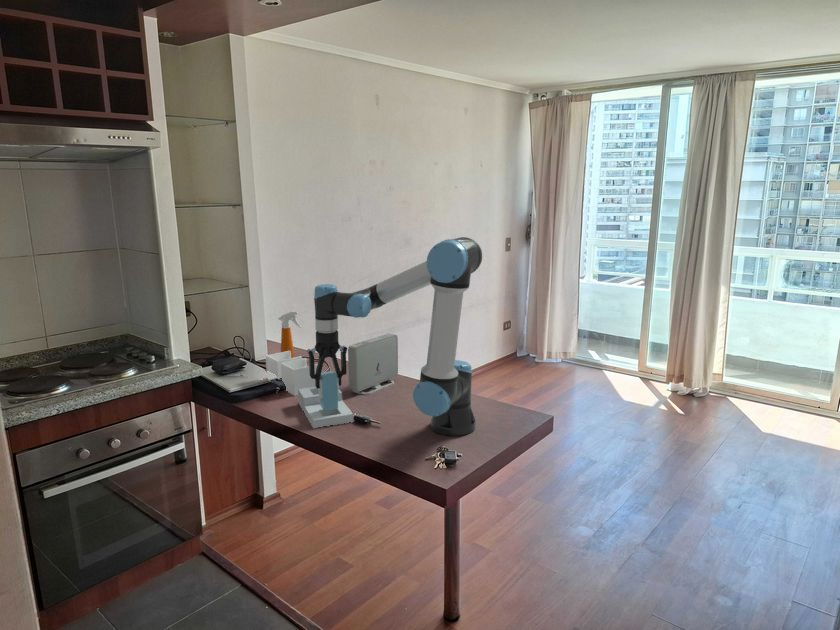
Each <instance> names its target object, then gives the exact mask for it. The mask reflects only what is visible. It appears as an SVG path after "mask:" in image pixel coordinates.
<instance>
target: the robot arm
mask: <svg viewBox="0 0 840 630" xmlns="http://www.w3.org/2000/svg"><path fill="white" fill-rule="evenodd" d="M482 261H483V251H482V248H481V246H480V245H479V244H478V242H477V241H476V240H474V239H472V238H470V237H466V236H463V237H457V238H451V239H444V240H442V241H441V240H440V242H438V243H436V244H434V245H433V247H432V248H431V249H430V250H429V251H428V254H427V257H426V261H423V262H421V263H419V264H417V265H415V266H413V267H410V268H409V269H406V270H403V271H402V272H400V273H398V274H396V275H393V276H391V277H389V278H387V279H385V280H383V281H381V282H378V283H376V284H373V285H372V286H369V287H367V288H365V289H360V290H358V291H357V290H356V291H354V292H340V291H338V286H337V285H336V284H329V283H325V284H318V285H316V286H315V287H314V297H313V300H314V301H313V303H314V313H315V314H314V315H315V316H314V320H315V322H314V323H315V326H314V327H315V330H316V331H315V345H314V347H313V348H311V349H310V348H308V349H307V350H306V351H307V355H308V360H309V361H308V366H309V373H310V377H311V378H312V379H315V386H316V388H317V389H319V397H320V398H323V393H322V379H321V378H320V376H321V373H322V372H323V367H324V362H325V360H326V359H327V358H331V360H332V364H333V368H334V372H335V373H336V375H337V386H338V396H339V390H340V386H342V377H343V376H345V375H347V353H348V347H347V346H346V345H340V343H339V331H338V329H339V318H338V317H339V316H343V317H344V316H345V317H351V318H352V317H353V318H356V319H357V318H367V317H368V316H369V314H370V313H371V311H372V310H376V309H378V308H381V307H383V306H385V305H386V304H389V303H391V302H394V301H395V300H398V299H400V298H403V297H405V296H406V295H409V294H412V293H414V292H416V291H419V290H421V289H424V288H426V287H428V286H430V285H431V287H432V288H433V289H434V290H433V291H434V293H433V303H432V311H431V320H430V330H429V339H428V346H427V357H426V364H424V365H423V366H422V367H421V368H420V369H421V370H420V377H419V382H418V383H417V384H416V385H415V387H414V389H413V392H412V399H413V402H414V405H415V406H416V407H417V409H418V410H419V412H421V413H422V414H424V415H426V416H429V417H431V419H430V428H431V430H432V431H434V432H435V433H438V434H441V435H445V436H452V437H455V436H465V435H468V434H471V433H473V432H474V431H475V430H476V426H477V425H476V418H475V415H474V412H473V409H472V377H473V376H472V375H473V372H472V365H471V364H470V363H469V362H468V361H464V360H459V359H456V356H457V348H458V347H457V346H458V339H459V333H460V331H459V330H460V323H461V313H462V305H463V299H464V293H465V291H468V289H470V285H471V284H470V283H471V275H472V274H474V273H475V272H476V271H477V270H478V269H479V267H481V264H482ZM338 351H339V352H340V366H339V362H338V358H337V352H338ZM316 353H317V354H318V361H317V363H316V364H317V369H316V373H315V370H314V365H315V355H316Z"/></svg>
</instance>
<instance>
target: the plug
mask: <svg viewBox="0 0 840 630" xmlns="http://www.w3.org/2000/svg"><path fill="white" fill-rule="evenodd" d="M320 378H321V379H322V393H323V398H320V406H321V407H322V409H323V410H324V411H325V410H331V409H338V386H337V374H336V371H335V370H334V371H333V370H331V371H330V370H329V371H325V372H323V371H322V372H321V376H320Z"/></svg>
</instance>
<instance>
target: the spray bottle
mask: <svg viewBox="0 0 840 630" xmlns="http://www.w3.org/2000/svg"><path fill="white" fill-rule="evenodd" d="M298 314H299V312H298V310H293V311H289V312H286V313H285V314H282V315H281V316H279V317H278V320H279V321H281V322H282V323H281V334H280V335H281V337H280V352H285V351H291V358H295V352H294V345H293V338H292V332H291V324H290V321H292V323H294V324H295V325H296V326H297V327H298V328H300V329H302V328H303V326H302V325H301V324H300V323H299V321H298V319H297V315H298Z"/></svg>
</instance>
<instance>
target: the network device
mask: <svg viewBox="0 0 840 630" xmlns="http://www.w3.org/2000/svg"><path fill="white" fill-rule="evenodd" d="M398 340H399V339H398V335H397V334H395V333H394V334H392V333H386V334H383V335H379V336H375V337H372V338H369V339H366V340H363V341H359V342H357V343H352V344H350V345H348V347H347V363H348V364H347V365H348V367H347V368H348V388H349V390H351V391H352V392H353V393H355V394H359V395H361V394H362V396H367V395H368V396H369V395H372V394H375V393H377V392H379V391H381V389H382V390H384V389H387V388H389V387H391V386H393V385H394V384H395V381H394V380H392V379H394V378H396V377H397V376H398V374H399V356H398V355H399V353H398V352H399V349H398V347H399V346H398V345H399V343H398V342H399V341H398ZM386 381H388V382H387V383H388V384H386V385H381V383H384V382H386ZM390 382H392V383H390ZM392 384H393V385H392ZM390 385H391V386H390ZM388 386H389V387H388ZM370 387H371V388H370ZM386 387H387V388H386ZM369 388H370V389H372V390H370V391H368V392H364V391H363V390H366V389H369ZM373 388H374V389H373ZM383 388H384V389H383ZM376 391H377V392H376ZM374 392H375V393H374Z"/></svg>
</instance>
